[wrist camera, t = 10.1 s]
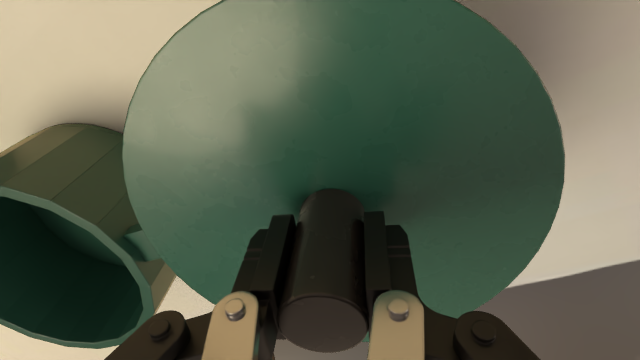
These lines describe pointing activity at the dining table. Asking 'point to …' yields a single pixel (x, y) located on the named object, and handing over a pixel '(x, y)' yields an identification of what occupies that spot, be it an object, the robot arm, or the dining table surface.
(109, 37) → the dining table surface
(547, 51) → the dining table surface
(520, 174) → the lid
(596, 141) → the dining table surface
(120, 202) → the pot
